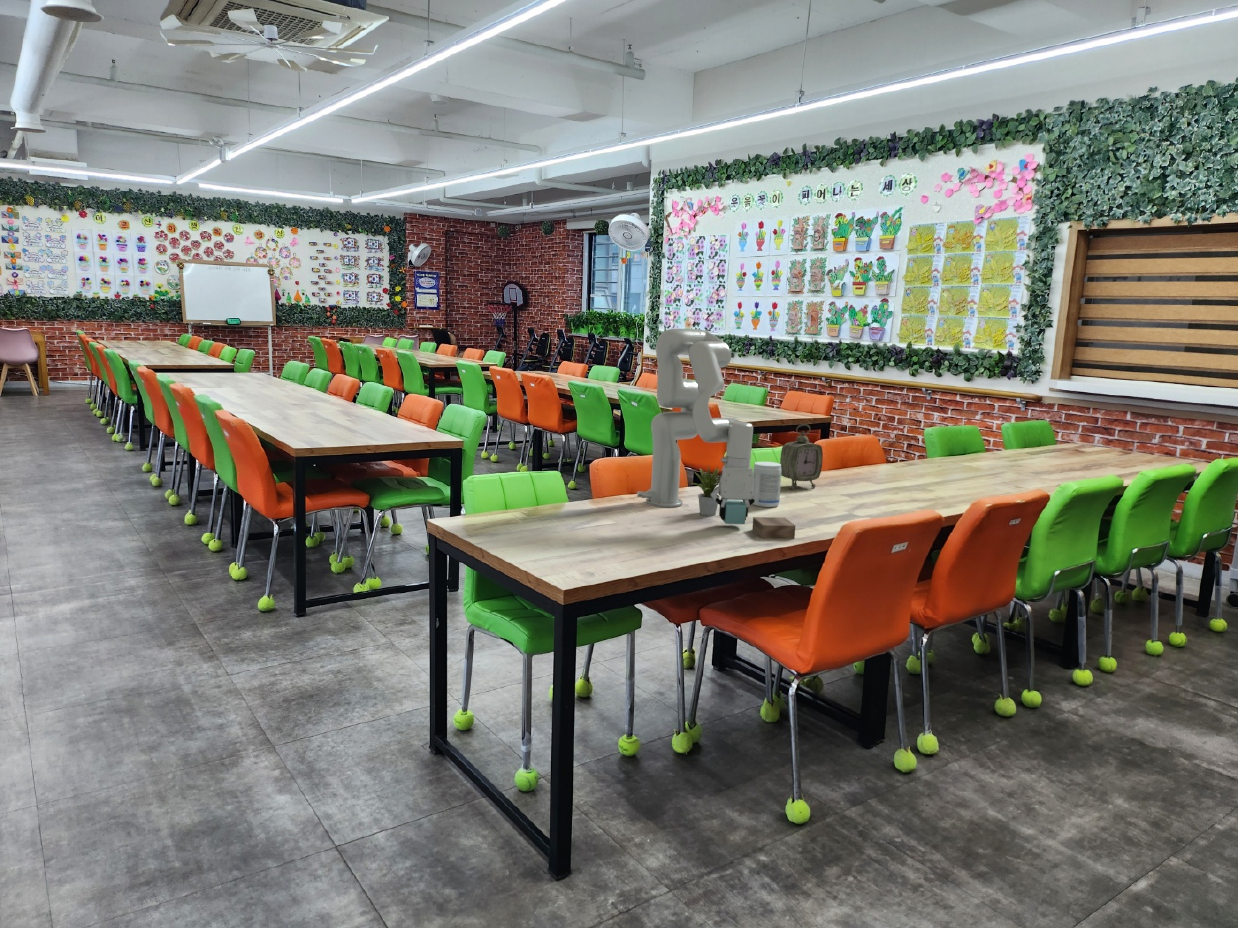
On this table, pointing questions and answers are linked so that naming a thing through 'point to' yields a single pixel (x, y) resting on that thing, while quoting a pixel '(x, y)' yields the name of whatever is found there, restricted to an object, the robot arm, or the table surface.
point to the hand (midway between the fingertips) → (733, 518)
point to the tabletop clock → (801, 459)
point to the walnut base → (773, 527)
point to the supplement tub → (767, 483)
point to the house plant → (708, 492)
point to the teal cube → (735, 512)
